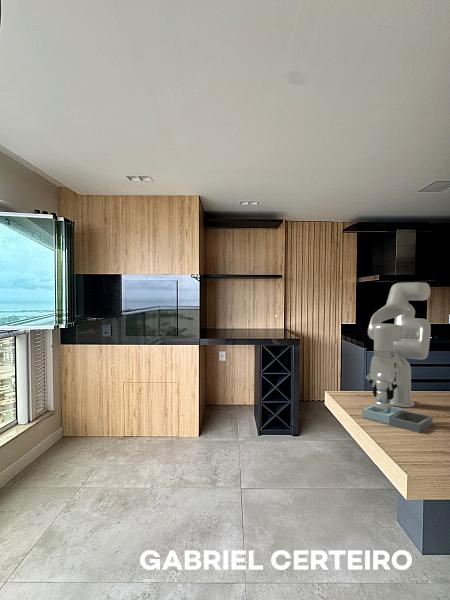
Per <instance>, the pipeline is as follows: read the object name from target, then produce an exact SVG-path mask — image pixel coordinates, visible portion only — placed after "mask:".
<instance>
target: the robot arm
mask: <svg viewBox="0 0 450 600" xmlns="http://www.w3.org/2000/svg"><path fill="white" fill-rule="evenodd" d="M430 295H431V287H430V284H429V283H427V282H419V281H417V282H416V281H414V282H397V283H395V284H393V285H392V286H391V288H390V289H389V293H388V295H387V297H388V298H387V300H386V304H385V305H384V306H382V307H381V308H380V309H378V310H377V311H375V312H374V313H373V315H372V316H371V318H370V321H369V324H368V327H367V335H368V337H369V339H371V340H373V356H372V357H371V362H370V367H369V371H370V372H369V373H368V374H367V375H366V376H365V379H366V380H367V381H368V382H369V384H370V385H371V387H372V394H373V397H374V398H376V381H375V377H376V375H377V374H379V373H381V374H384V375H385V376H386V377H387V381H388V383H389V385H388V386H389V390H388V400H390V402H391V406H392V407H397V408H412V407H415V402H414V401H412V396H413V395H412V367H411V364H410V363H409V361H407V359H411V360H425V359H427V358H428V356H429V350H430V343H431V342H430V341H431V334H432V333H431V331H432V330H431V323H430V321H429V320H428V319H425V318H417V317H415V315H416V310H415V308H414V307H413V305H412V304H410V303H409V301H422V302H423V301H427V300H428V299H429V298H430ZM391 319H394V323H383V322H385V321H388V320H391Z"/></svg>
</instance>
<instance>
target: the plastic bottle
mask: <svg viewBox="0 0 450 600" xmlns="http://www.w3.org/2000/svg"><path fill="white" fill-rule="evenodd" d="M375 381H376V397H375V401H374V405H375V410H376V411H377V412H379V413H385V414H387V413H390V412H391V408H392V407H393V406H392V405H391V402H390V400H388V390H389V386H388V385H389V383H388V381H387V377H386V376H385V375H384V374H381V373H379V374H377V375H376V377H375Z"/></svg>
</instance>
